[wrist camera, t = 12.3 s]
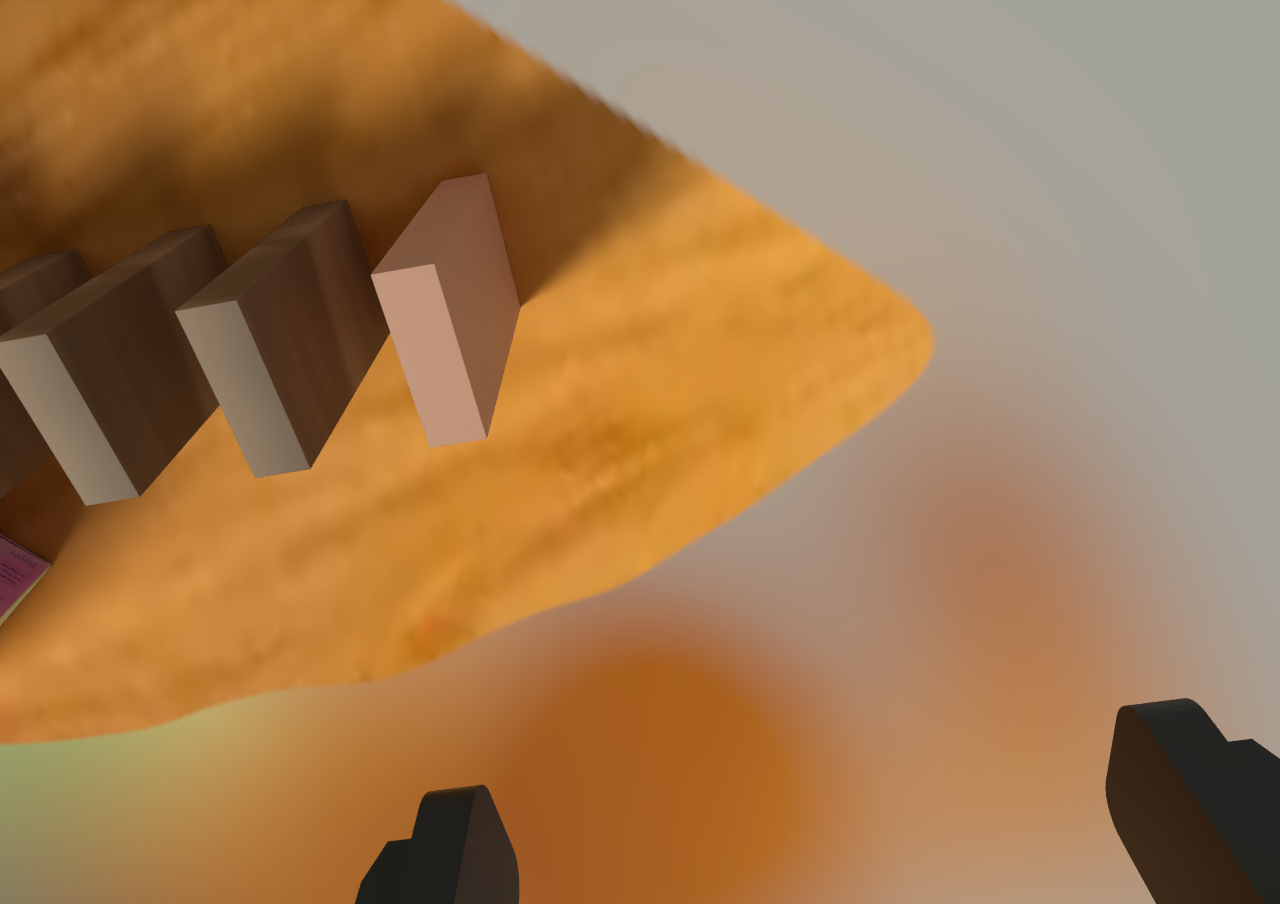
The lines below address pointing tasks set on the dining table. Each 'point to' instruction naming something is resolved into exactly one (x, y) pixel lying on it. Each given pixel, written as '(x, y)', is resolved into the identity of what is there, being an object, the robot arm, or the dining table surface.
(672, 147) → the dining table surface
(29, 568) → the box
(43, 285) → the domino
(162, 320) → the domino
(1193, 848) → the robot arm
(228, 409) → the domino
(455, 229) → the domino end
